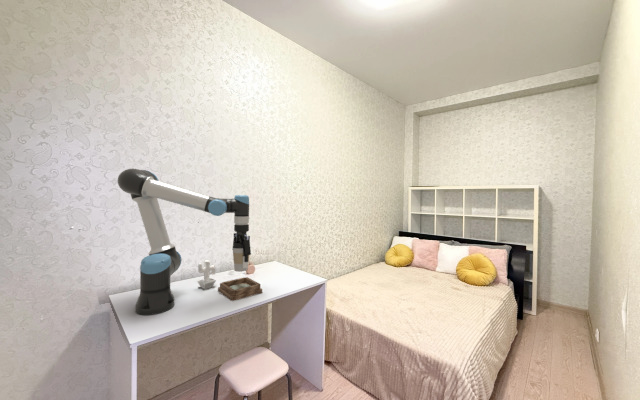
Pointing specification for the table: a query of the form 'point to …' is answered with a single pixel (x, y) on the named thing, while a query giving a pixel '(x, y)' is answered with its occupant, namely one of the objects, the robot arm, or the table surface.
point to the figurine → (206, 275)
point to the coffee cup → (238, 257)
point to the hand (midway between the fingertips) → (241, 265)
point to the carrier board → (239, 288)
